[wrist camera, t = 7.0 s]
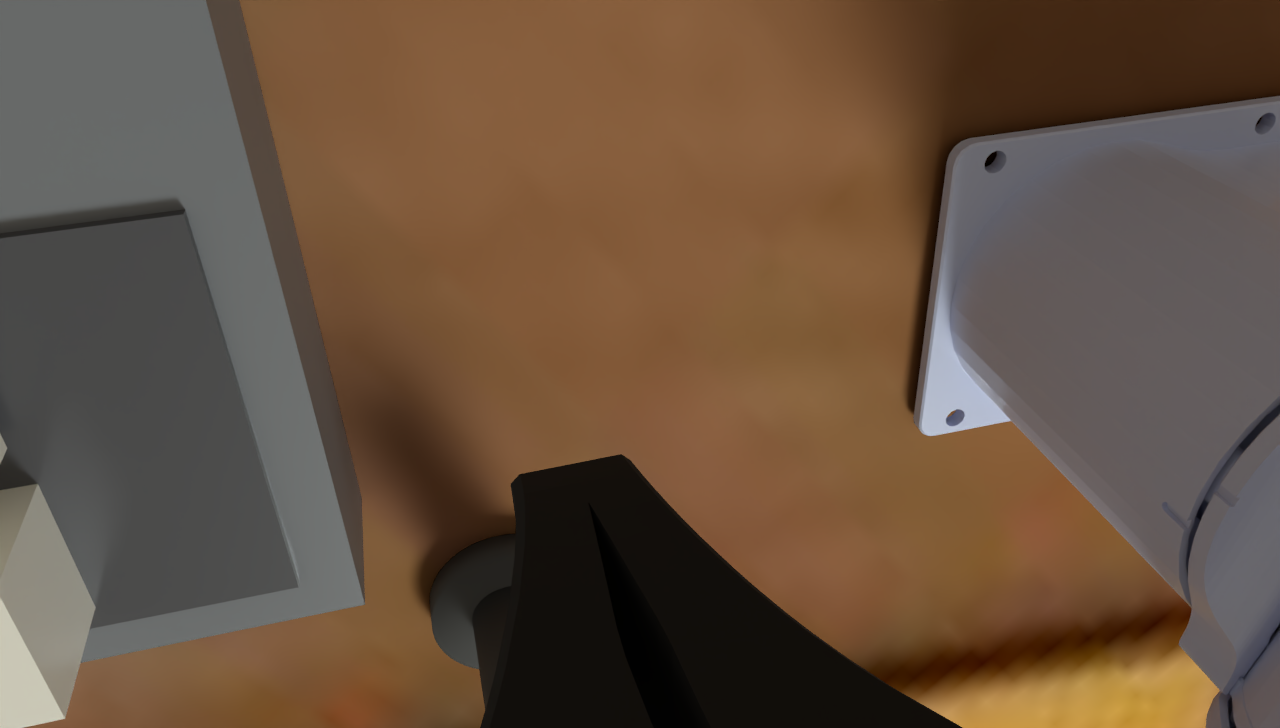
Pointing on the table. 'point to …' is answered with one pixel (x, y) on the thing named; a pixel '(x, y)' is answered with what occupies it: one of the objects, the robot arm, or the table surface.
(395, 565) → the table surface
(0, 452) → the block
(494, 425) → the table surface
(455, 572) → the cord stand
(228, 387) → the block
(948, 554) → the table surface
